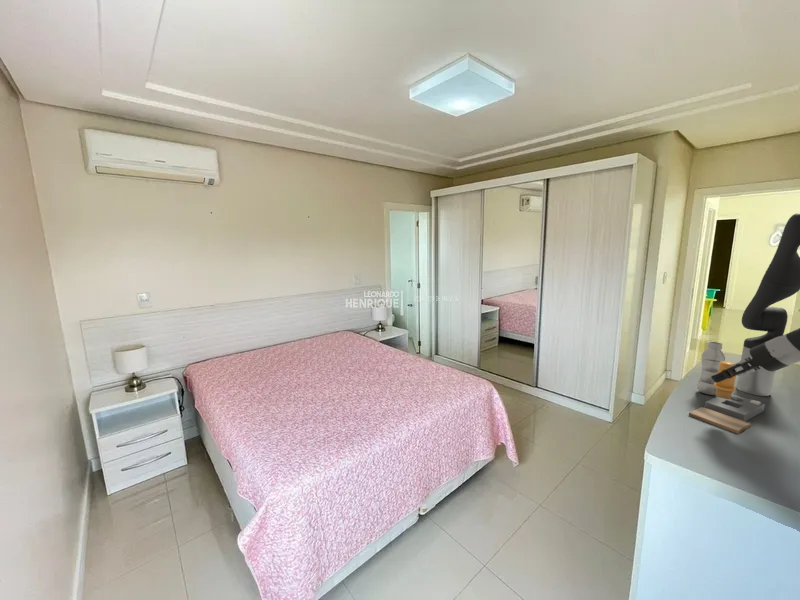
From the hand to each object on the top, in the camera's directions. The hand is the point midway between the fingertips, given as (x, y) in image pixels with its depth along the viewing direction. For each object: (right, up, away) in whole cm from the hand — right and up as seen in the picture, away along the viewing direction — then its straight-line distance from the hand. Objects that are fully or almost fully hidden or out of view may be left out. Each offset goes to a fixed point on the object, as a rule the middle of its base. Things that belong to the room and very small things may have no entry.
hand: (717, 378), depth 105 cm
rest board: (+1, -14, +1) cm, 14 cm away
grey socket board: (+13, -13, +8) cm, 20 cm away
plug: (+1, -6, -1) cm, 6 cm away
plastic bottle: (+16, -11, +20) cm, 28 cm away
